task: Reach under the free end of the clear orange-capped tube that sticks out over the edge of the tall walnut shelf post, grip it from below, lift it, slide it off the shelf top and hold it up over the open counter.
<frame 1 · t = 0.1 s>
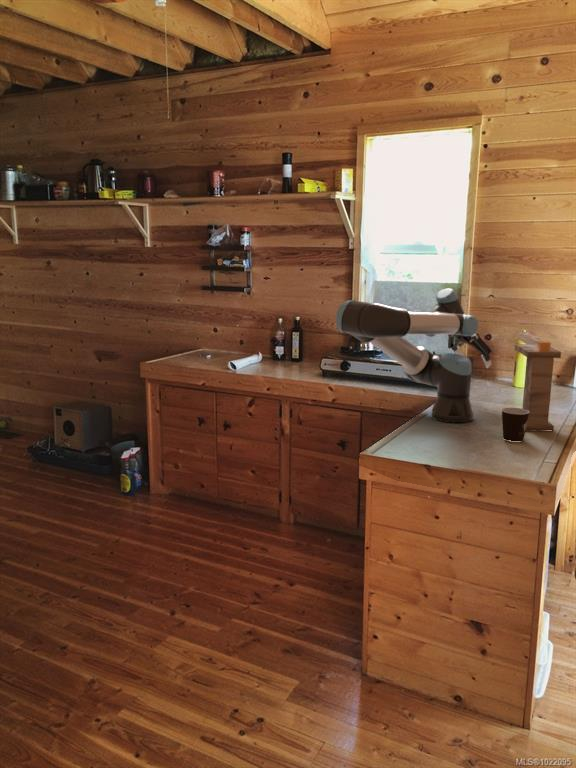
hand: (475, 363, 268), 15 cm above the table, tool tilted 35°, fingers open, 13 cm apart
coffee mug: (516, 439, 219), on the table
clear orange-capped tube: (533, 345, 234), point 28 cm above the table, touching shelf post
shelf post: (530, 424, 236), on the table
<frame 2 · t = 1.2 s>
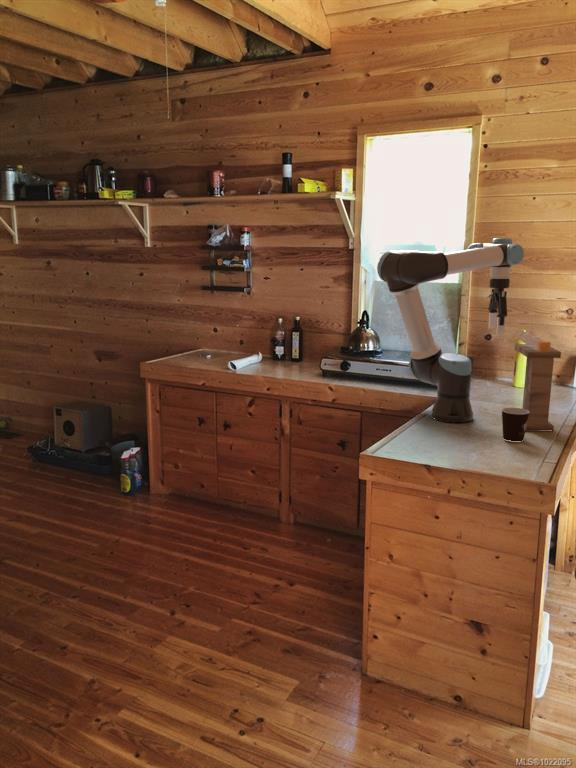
hand: (496, 331, 264), 29 cm above the table, tool pointing down, fingers open, 13 cm apart
nothing on the table moved.
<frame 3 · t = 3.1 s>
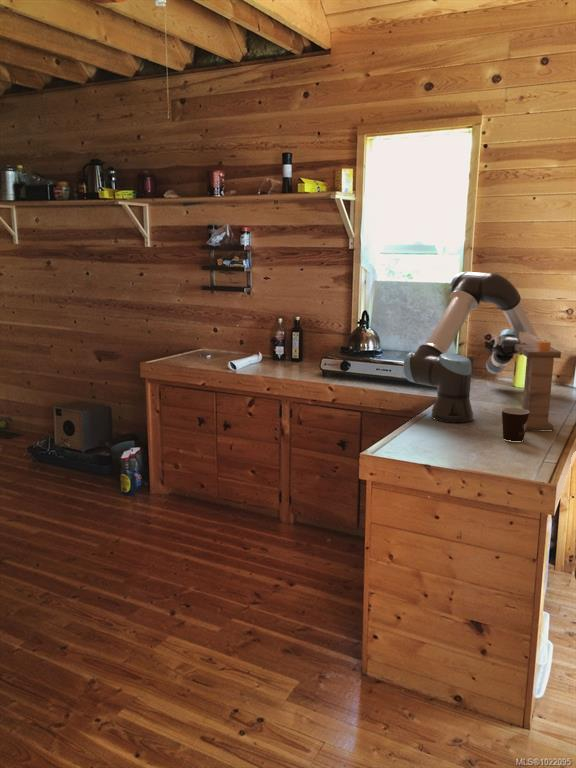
hand: (515, 338, 257), 27 cm above the table, tool pointing upward, fingers open, 13 cm apart
nothing on the table moved.
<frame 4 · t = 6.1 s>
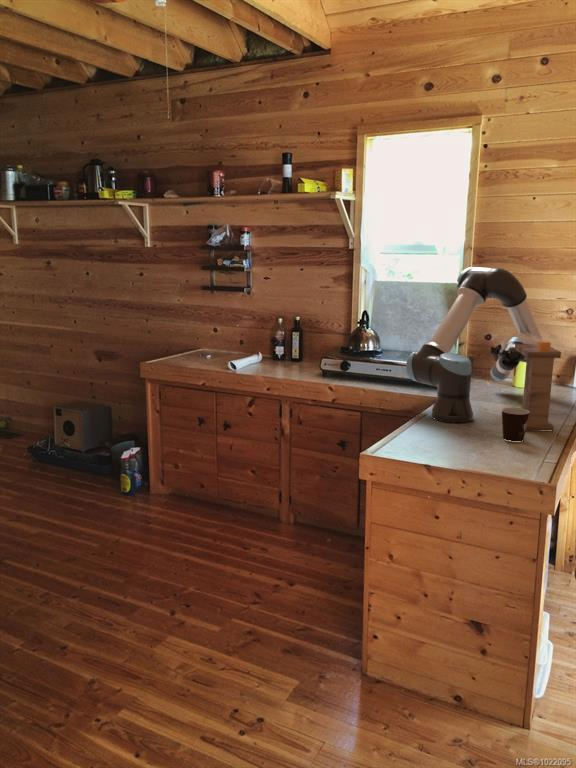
hand: (522, 343, 249), 26 cm above the table, tool pointing upward, fingers open, 13 cm apart
nothing on the table moved.
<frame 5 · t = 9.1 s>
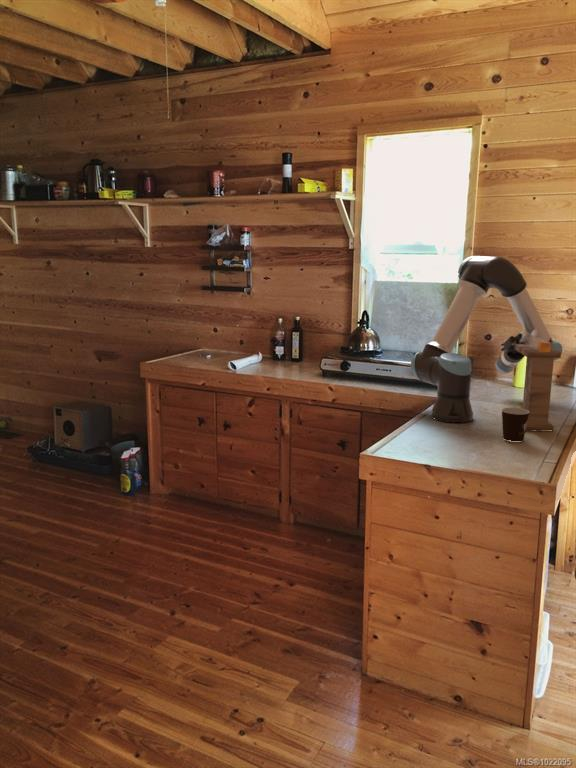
hand: (530, 332, 238), 32 cm above the table, tool pointing upward, fingers closed on clear orange-capped tube, 3 cm apart
clear orange-capped tube: (533, 345, 234), point 28 cm above the table, touching gripper, shelf post
everything else where it was.
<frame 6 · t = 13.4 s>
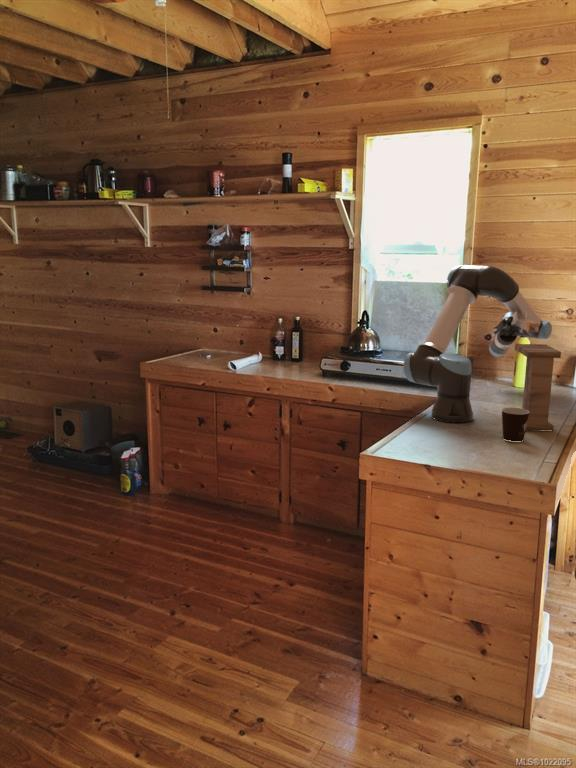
hand: (521, 314, 253), 37 cm above the table, tool pointing upward, fingers closed on clear orange-capped tube, 3 cm apart
clear orange-capped tube: (523, 327, 250), point 32 cm above the table, touching arm, gripper
everything else where it was.
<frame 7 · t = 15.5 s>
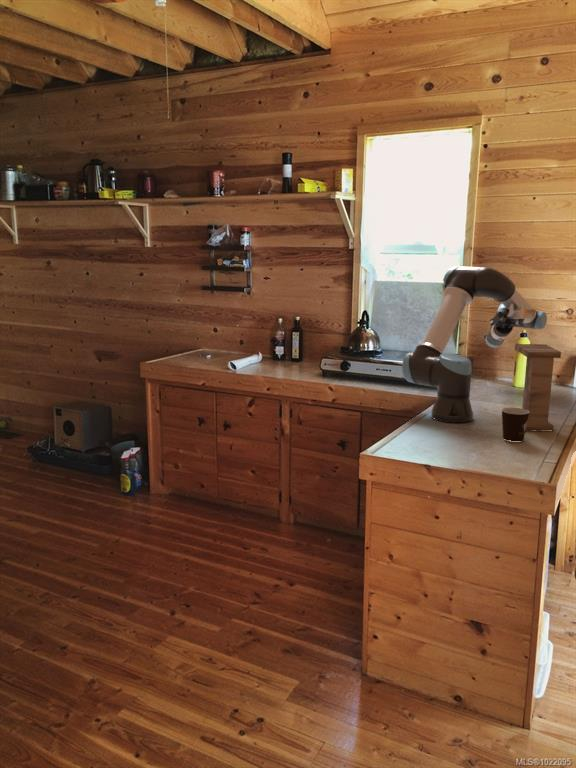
hand: (517, 307, 256), 39 cm above the table, tool pointing upward, fingers closed on clear orange-capped tube, 3 cm apart
clear orange-capped tube: (519, 318, 252), point 35 cm above the table, tilted 8°, touching arm, gripper
everything else where it was.
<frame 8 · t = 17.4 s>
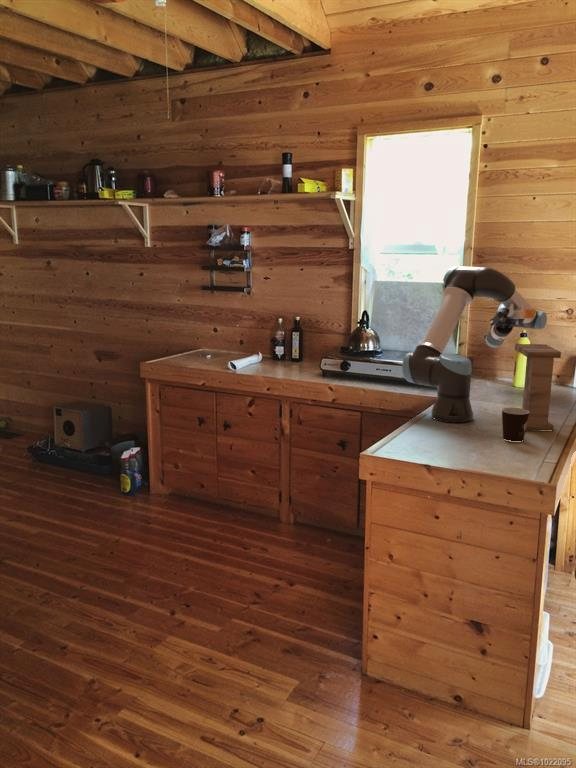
hand: (517, 307, 256), 39 cm above the table, tool pointing upward, fingers closed on clear orange-capped tube, 3 cm apart
clear orange-capped tube: (519, 318, 252), point 35 cm above the table, tilted 8°, touching arm, gripper
everything else where it was.
at the end: the gripper is holding clear orange-capped tube; clear orange-capped tube touching arm, gripper; clear orange-capped tube moved 21.4 cm from its start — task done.
